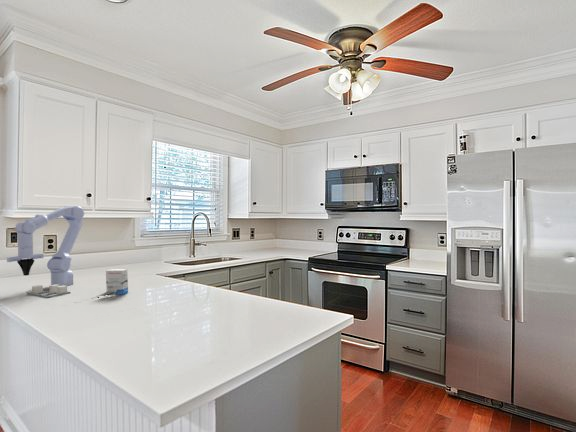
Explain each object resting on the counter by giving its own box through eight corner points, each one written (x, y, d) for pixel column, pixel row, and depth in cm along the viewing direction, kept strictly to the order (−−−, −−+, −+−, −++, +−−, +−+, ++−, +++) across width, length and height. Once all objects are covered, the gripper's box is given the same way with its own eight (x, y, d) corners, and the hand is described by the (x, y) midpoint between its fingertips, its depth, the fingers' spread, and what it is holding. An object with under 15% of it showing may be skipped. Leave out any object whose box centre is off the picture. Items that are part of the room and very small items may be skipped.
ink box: (128, 292, 170) (128, 268, 170) (122, 295, 165) (122, 270, 165) (112, 292, 171) (111, 268, 171) (105, 294, 166) (105, 270, 166)
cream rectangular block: (56, 291, 168) (56, 284, 168) (59, 292, 166) (59, 284, 166) (49, 292, 165) (49, 285, 165) (53, 293, 164) (53, 286, 164)
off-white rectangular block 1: (39, 292, 167) (39, 284, 166) (42, 292, 165) (42, 285, 165) (32, 293, 164) (32, 286, 164) (35, 294, 162) (35, 286, 162)
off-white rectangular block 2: (63, 292, 165) (63, 285, 165) (67, 293, 164) (67, 286, 163) (56, 294, 162) (56, 286, 162) (60, 294, 161) (60, 287, 161)
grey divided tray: (50, 292, 172) (50, 288, 172) (70, 296, 164) (70, 291, 164) (27, 296, 163) (27, 292, 163) (47, 301, 155) (47, 296, 155)
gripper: (37, 244, 173) (38, 272, 173) (3, 247, 160) (3, 277, 161) (45, 245, 170) (46, 273, 170) (10, 248, 157) (11, 278, 157)
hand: (26, 275), depth 165 cm, fingers closed
